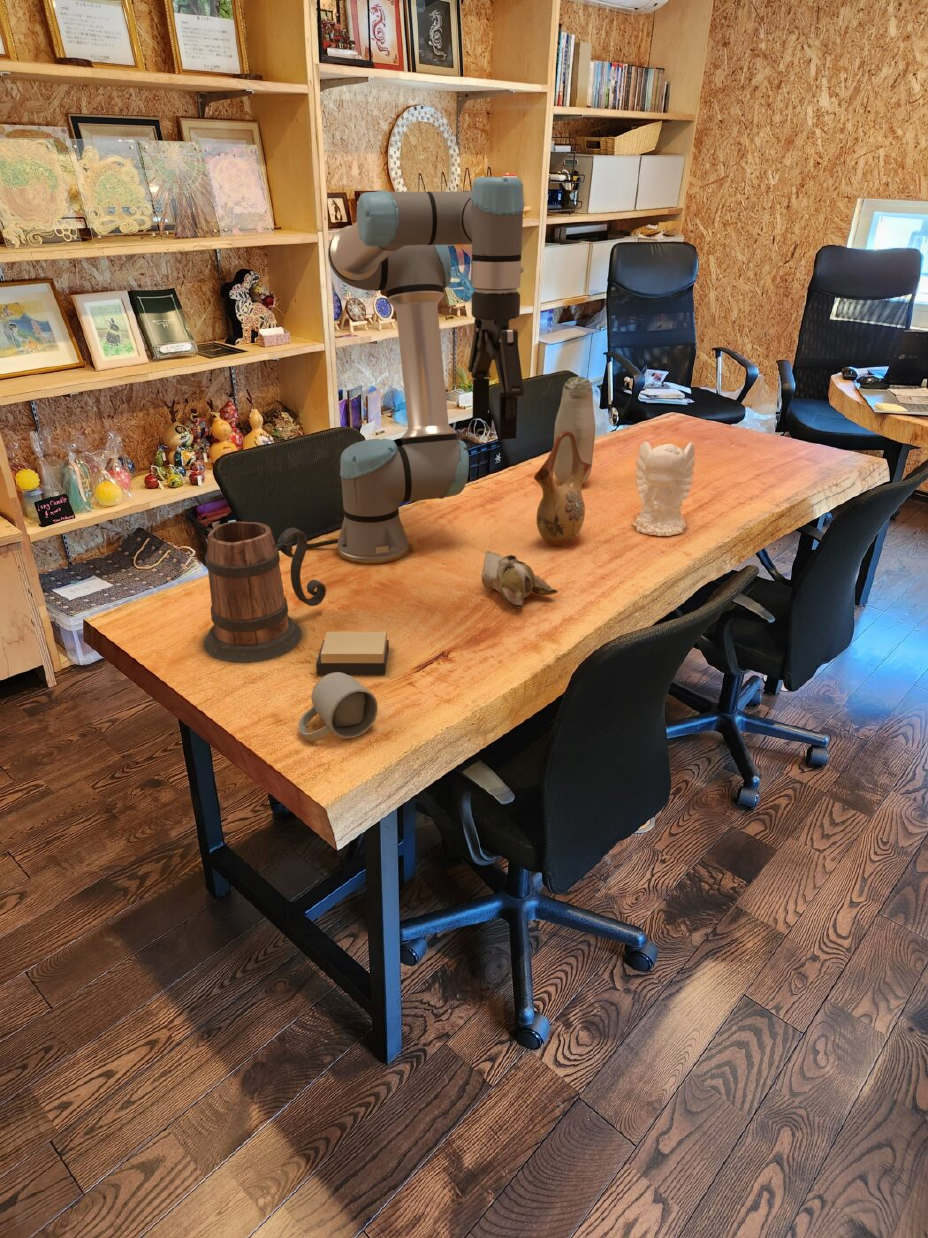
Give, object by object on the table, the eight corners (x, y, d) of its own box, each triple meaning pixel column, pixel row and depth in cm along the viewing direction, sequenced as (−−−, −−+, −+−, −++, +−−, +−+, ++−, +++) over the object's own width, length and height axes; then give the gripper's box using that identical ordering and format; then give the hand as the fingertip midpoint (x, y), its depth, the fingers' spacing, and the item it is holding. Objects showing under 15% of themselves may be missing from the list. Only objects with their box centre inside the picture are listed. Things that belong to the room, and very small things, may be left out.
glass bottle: (546, 481, 221) (551, 374, 208) (581, 477, 224) (588, 371, 210) (560, 492, 212) (567, 382, 199) (596, 489, 215) (606, 379, 202)
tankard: (234, 673, 134) (217, 560, 125) (186, 636, 145) (167, 529, 135) (351, 627, 148) (344, 522, 139) (300, 596, 159) (290, 497, 150)
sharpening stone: (317, 675, 134) (315, 653, 132) (324, 650, 141) (322, 630, 139) (385, 675, 134) (384, 654, 132) (388, 650, 141) (388, 630, 139)
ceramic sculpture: (507, 535, 163) (563, 563, 153) (504, 574, 167) (558, 603, 158) (466, 550, 157) (522, 580, 147) (465, 590, 161) (519, 621, 152)
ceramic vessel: (548, 558, 175) (555, 442, 164) (518, 546, 181) (522, 433, 170) (598, 538, 185) (608, 428, 173) (568, 527, 191) (575, 420, 179)
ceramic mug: (354, 702, 126) (350, 659, 123) (380, 728, 120) (377, 684, 117) (289, 726, 121) (283, 682, 117) (314, 754, 115) (308, 709, 112)
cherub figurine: (623, 533, 188) (631, 446, 179) (631, 514, 199) (639, 432, 189) (681, 540, 184) (693, 452, 175) (687, 521, 195) (698, 437, 186)
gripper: (549, 299, 117) (542, 446, 127) (492, 281, 138) (490, 408, 148) (499, 301, 115) (496, 450, 125) (449, 282, 136) (450, 411, 146)
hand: (493, 427), depth 137 cm, fingers open, 13 cm apart
